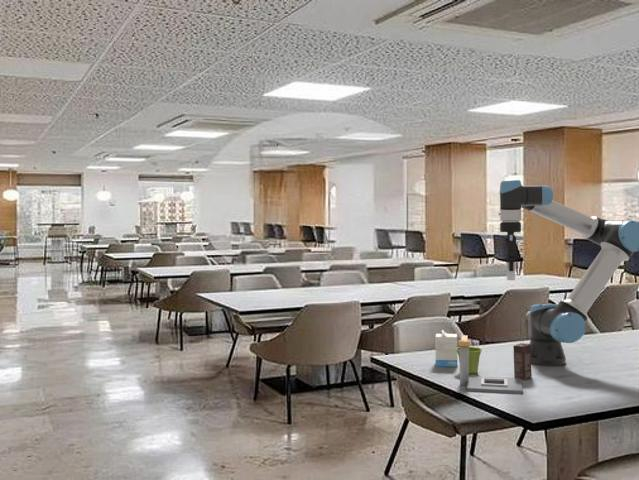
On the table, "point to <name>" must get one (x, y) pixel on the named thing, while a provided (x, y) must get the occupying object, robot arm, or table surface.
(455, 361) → the milk carton
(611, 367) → the table surface
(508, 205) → the robot arm
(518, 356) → the box
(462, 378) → the grey stand
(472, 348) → the plant pot
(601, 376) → the table surface
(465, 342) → the clip
